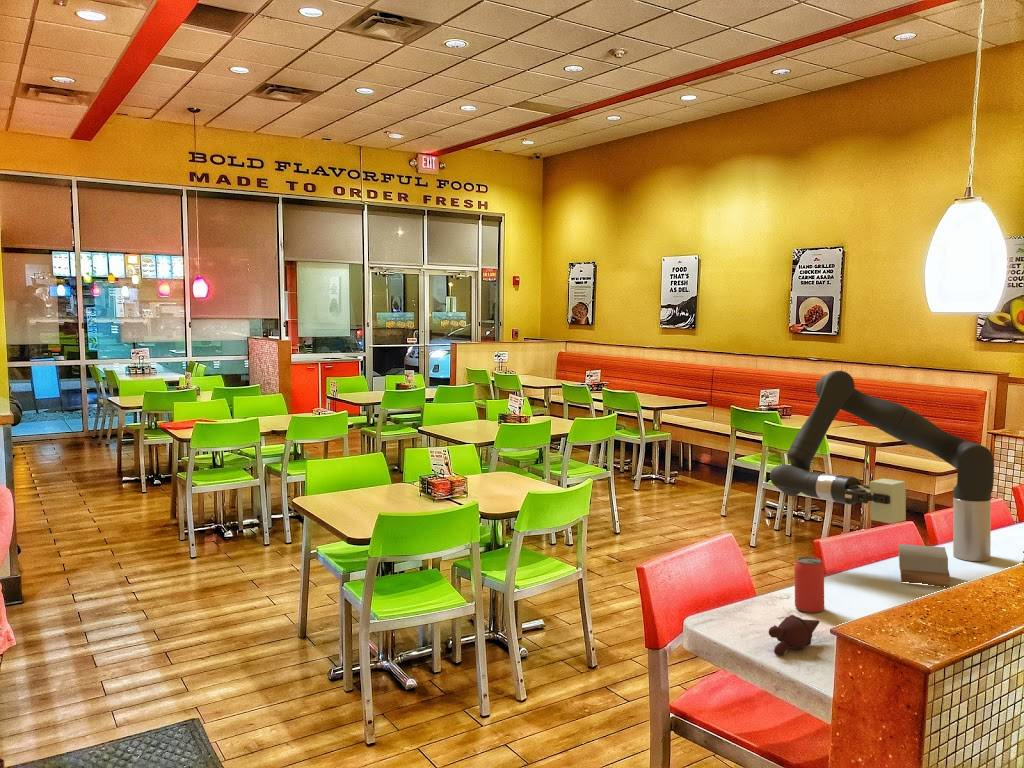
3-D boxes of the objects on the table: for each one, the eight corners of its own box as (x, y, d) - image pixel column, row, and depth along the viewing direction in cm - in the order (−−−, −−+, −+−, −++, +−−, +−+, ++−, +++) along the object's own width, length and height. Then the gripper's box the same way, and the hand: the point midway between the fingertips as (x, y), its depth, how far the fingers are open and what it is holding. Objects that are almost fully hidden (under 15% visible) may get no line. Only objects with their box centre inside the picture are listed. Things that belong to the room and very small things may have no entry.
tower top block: (898, 558, 209) (898, 543, 208) (944, 562, 204) (944, 547, 204) (899, 569, 199) (899, 554, 199) (947, 573, 194) (947, 558, 194)
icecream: (800, 604, 167) (754, 625, 159) (828, 605, 161) (781, 627, 153) (809, 636, 166) (763, 658, 159) (837, 638, 160) (791, 661, 152)
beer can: (819, 616, 177) (819, 565, 177) (791, 610, 181) (790, 561, 181) (827, 607, 182) (827, 558, 182) (799, 602, 186) (799, 554, 186)
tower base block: (900, 572, 209) (900, 558, 208) (946, 577, 204) (946, 562, 204) (901, 584, 199) (901, 569, 198) (949, 589, 194) (949, 574, 194)
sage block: (883, 516, 200) (883, 478, 199) (905, 520, 195) (905, 481, 194) (870, 519, 197) (869, 481, 196) (892, 523, 191) (891, 484, 191)
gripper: (821, 478, 203) (880, 487, 189) (853, 471, 211) (912, 479, 197) (821, 505, 204) (880, 517, 190) (853, 498, 211) (913, 508, 197)
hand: (896, 498), depth 193 cm, fingers closed on sage block, 6 cm apart
